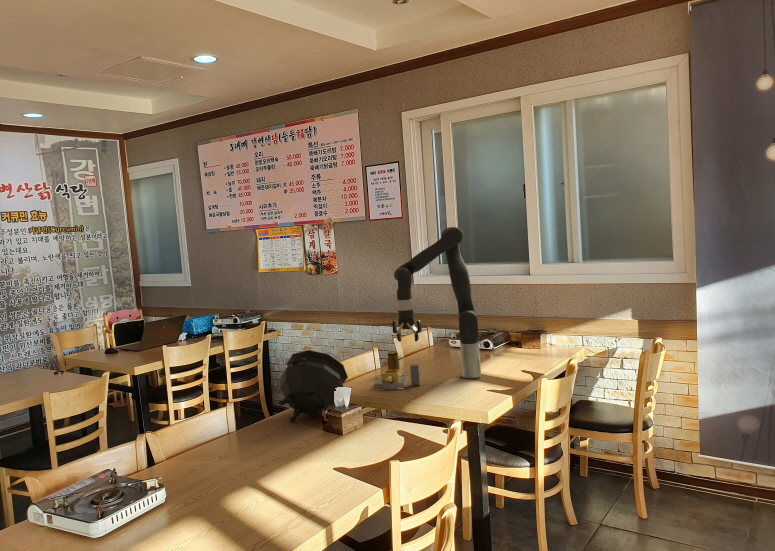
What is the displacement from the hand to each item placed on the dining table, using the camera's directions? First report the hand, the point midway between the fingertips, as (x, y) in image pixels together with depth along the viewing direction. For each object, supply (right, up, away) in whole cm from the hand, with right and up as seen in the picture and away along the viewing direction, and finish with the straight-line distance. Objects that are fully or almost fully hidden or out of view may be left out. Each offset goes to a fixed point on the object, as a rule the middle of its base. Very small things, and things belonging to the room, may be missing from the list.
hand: (408, 341), depth 285 cm
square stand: (-8, -22, +1) cm, 23 cm away
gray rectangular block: (+4, -21, -1) cm, 21 cm away
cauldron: (-40, -28, -39) cm, 62 cm away
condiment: (-6, -20, +20) cm, 29 cm away
